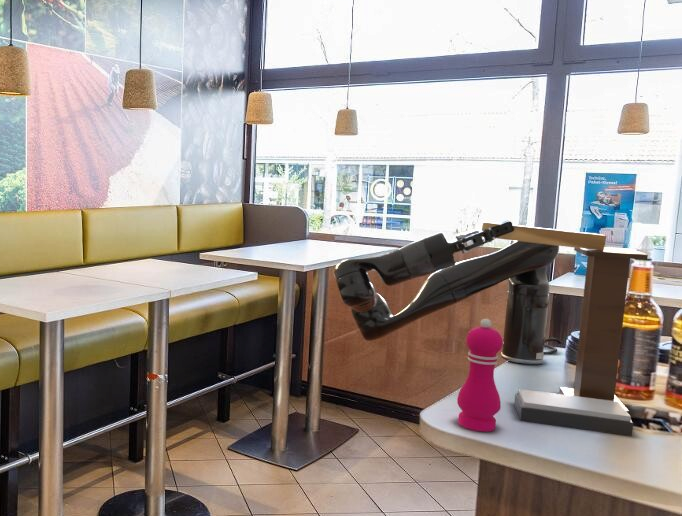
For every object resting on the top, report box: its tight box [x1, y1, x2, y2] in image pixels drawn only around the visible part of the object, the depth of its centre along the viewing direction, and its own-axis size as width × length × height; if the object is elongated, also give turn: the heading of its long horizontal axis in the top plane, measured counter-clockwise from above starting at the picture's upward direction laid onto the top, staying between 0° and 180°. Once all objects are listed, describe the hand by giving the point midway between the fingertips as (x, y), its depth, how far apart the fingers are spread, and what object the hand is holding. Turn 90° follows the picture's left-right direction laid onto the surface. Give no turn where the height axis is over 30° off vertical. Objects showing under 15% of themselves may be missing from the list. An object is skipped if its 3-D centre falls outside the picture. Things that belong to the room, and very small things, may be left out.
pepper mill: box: [456, 318, 503, 433], centre depth 127 cm, size 7×7×20 cm
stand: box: [558, 246, 649, 415], centre depth 140 cm, size 12×10×32 cm
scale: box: [513, 388, 634, 437], centre depth 133 cm, size 10×18×4 cm, turn 69°
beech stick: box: [480, 221, 607, 251], centre depth 140 cm, size 3×22×3 cm, turn 68°
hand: (511, 225), depth 142 cm, fingers closed on beech stick, 3 cm apart
